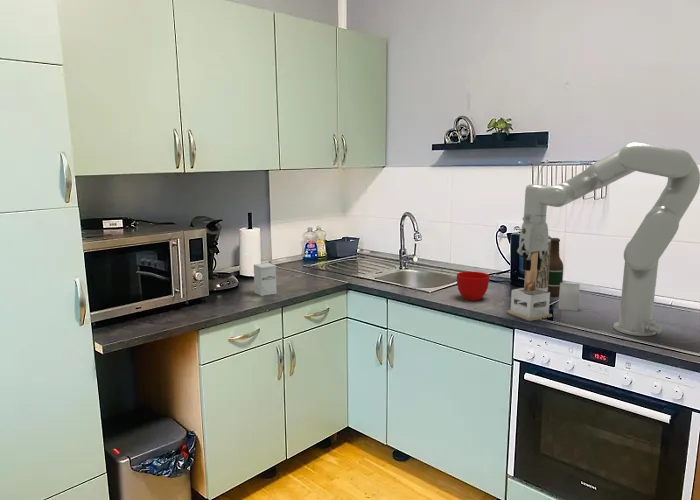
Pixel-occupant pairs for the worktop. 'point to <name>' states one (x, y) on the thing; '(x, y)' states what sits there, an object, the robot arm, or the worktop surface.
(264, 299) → the worktop surface
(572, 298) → the light gray block
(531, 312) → the collar stand
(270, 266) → the supplement box
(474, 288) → the ceramic cup
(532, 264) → the wooden post
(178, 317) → the worktop surface
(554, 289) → the beer bottle
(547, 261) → the wooden log
